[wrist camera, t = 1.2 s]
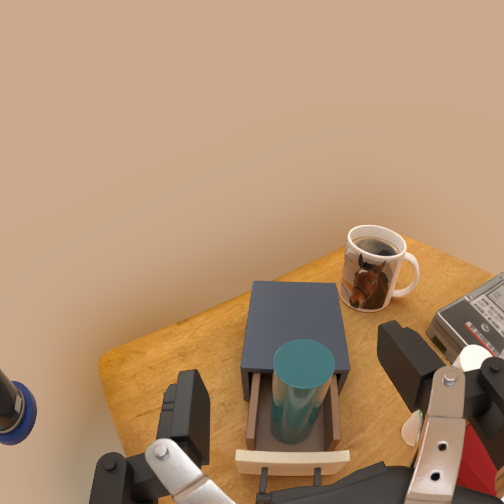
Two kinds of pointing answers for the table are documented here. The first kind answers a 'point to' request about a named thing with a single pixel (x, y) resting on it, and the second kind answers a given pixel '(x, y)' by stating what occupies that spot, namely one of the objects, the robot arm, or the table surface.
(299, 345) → the canister
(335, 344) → the cabinet
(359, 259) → the mug
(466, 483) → the shell casing
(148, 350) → the table surface
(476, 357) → the tube
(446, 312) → the hard drive
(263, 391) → the drawer
